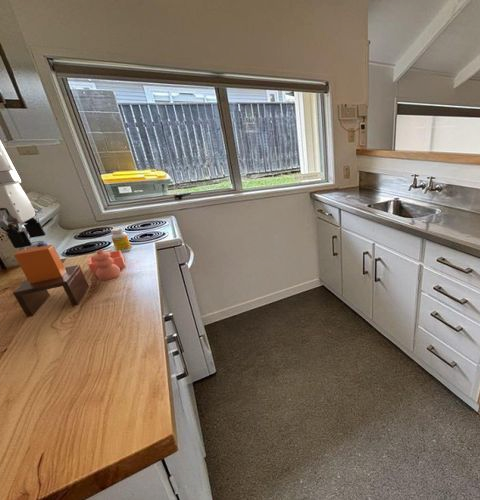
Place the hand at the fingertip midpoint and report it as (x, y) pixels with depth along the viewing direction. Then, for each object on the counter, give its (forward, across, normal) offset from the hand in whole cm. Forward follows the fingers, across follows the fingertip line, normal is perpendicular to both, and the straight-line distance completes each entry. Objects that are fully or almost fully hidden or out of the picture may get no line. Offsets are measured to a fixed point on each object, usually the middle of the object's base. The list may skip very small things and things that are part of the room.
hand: (31, 241), depth 79 cm
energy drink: (+19, -28, -11) cm, 36 cm away
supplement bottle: (+20, -40, +10) cm, 46 cm away
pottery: (+20, -18, +9) cm, 28 cm away
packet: (+11, 0, 0) cm, 11 cm away
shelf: (+19, 0, -1) cm, 19 cm away
